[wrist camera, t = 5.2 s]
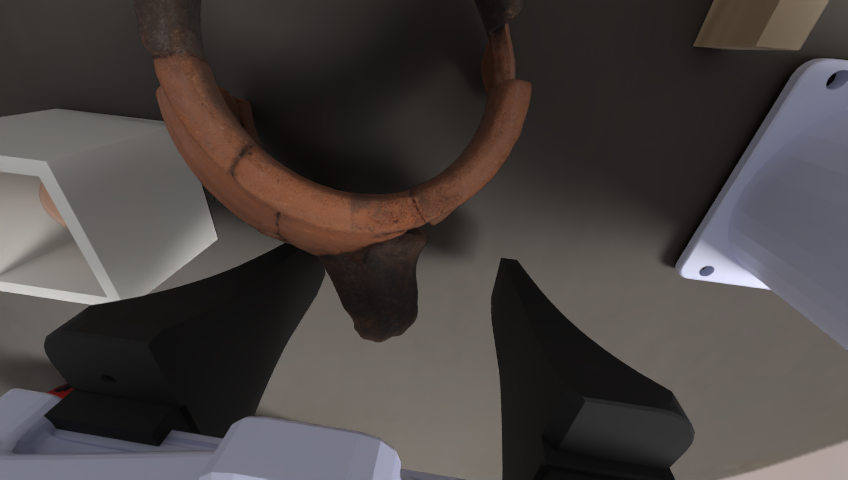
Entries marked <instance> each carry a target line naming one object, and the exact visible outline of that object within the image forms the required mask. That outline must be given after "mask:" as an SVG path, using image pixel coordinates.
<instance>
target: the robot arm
mask: <svg viewBox="0 0 848 480" xmlns="http://www.w3.org/2000/svg"><path fill="white" fill-rule="evenodd" d="M834 73H836V77H835V79H834V81H833V82H832V83H831V84H830V85H828V86H826V83H827V80H828V79H829V78H830V76H831V75H832V74H834ZM705 266H707V267H706V268H705V269H703V270H701V269H702V268H703V267H705ZM675 268H676V271H677V272H678V273H679V274H680V275H681V276H682V277H684V278H688V279H695V280H703V281H710V282H718V283H725V284H732V285H740V286H747V287H755V288H762V289H770V290H772V291H774V292H775V293H776V294H777V295H779V296H780V297H781V298H782V299H784V300H785V301H786V302H787V303H789V304H790V305H791V306H792V307H794V308H795V309H796V310H797V311H799V312H800V313H801V314H802V315H804V316H805V317H806V318H807V319H809V320H810V321H811V322H812V323H814V324H815V325H816V326H817V327H819V328H820V329H821V330H822V331H824V332H825V333H826V334H827V335H829V336H830V337H831V338H832V339H834V340H835V341H836V342H837V343H839V344H840V345H841V346H842V347H844V348H845V349H846V350H847V351H848V60H839V59H826V58H820V59H812V60H810V61H808V62H805V63H804V64H803V65H801V66H800V67H799V68H797V69H796V71H795V72H794V73H793V74H792V76H791V77H790V79H789V80H788V82H787V84H786V85H785V87H784V89H783V90H782V92H781V94H780V95H779V97H778V98H777V100H776V102H775V103H774V105H773V107H772V108H771V110H770V111H769V113H768V115H767V116H766V118H765V120H764V121H763V123H762V124H761V126H760V128H759V129H758V131H757V133H756V134H755V136H754V137H753V139H752V141H751V142H750V144H749V146H748V147H747V149H746V151H745V152H744V154H743V155H742V157H741V159H740V160H739V162H738V164H737V165H736V167H735V168H734V170H733V172H732V173H731V175H730V177H729V178H728V180H727V181H726V183H725V185H724V186H723V188H722V190H721V191H720V193H719V195H718V196H717V198H716V199H715V201H714V203H713V204H712V206H711V208H710V209H709V211H708V212H707V214H706V216H705V217H704V219H703V221H702V222H701V224H700V225H699V227H698V229H697V230H696V232H695V234H694V235H693V237H692V238H691V240H690V242H689V243H688V245H687V247H686V248H685V250H684V252H683V253H682V255H681V256H680V258H679V260H678V261H677V263H676V266H675ZM324 276H325V267H324V266H323V264H322V263H321V262H320V260H319V258H318V256H317V255H313V254H311V253H309V252H307V251H305V250H302V249H299V248H297V247H295V246H294V245H293V244H288V243H284V244H282V245H280V246H279V247H277V248H275V249H273V250H271V251H269V252H267V253H265V254H263V255H261V256H259V257H257V258H255V259H252V260H250V261H248V262H246V263H244V264H242V265H240V266H237V267H235V268H232V269H230V270H228V271H225V272H222V273H220V274H217V275H214V276H212V277H209V278H206V279H202V280H199V281H196V282H193V283H190V284H186V285H183V286H180V287H176V288H173V289H169V290H165V291H161V292H157V293H152V294H148V295H144V296H139V297H134V298H129V299H124V300H118V301H113V302H107V303H102V304H95V305H91V306H89V307H88V308H86V309H85V310H83V311H82V312H80V313H79V314H78V315H76V316H75V317H73V318H72V319H71V320H69V321H68V322H66V323H65V324H63V325H62V326H61V327H59V328H58V329H56V330H55V331H53V332H52V333H51V334H49V335H48V336H46V339H45V342H44V348H45V352H46V355H47V356H48V358H49V359H50V361H51V362H52V364H53V365H54V366H55V367H56V368H57V370H58V371H59V372H60V373H61V375H62V376H63V377H64V378H65V380H66V381H67V382H68V383H69V385H70V386H71V387H72V388H73V390H72V391H71V392H70V393H69V394H68V395H66V396H65V397H64V398H63V399H61V398H60V397H58V396H56V395H53V394H49V393H43V392H37V391H31V390H25V389H19V388H15V389H11V390H10V391H8V392H7V393H6V394H4V395H3V396H2V397H0V480H464V479H458V478H452V477H447V476H441V475H435V474H429V473H423V472H417V471H411V470H405V469H401V462H400V459H399V457H398V455H397V452H396V451H395V449H394V448H393V447H392V446H391V445H389V444H388V443H386V442H385V441H383V440H382V439H381V438H379V437H376V436H372V435H369V434H366V433H363V432H359V431H353V430H347V429H341V428H335V427H328V426H322V425H316V424H310V423H304V422H298V421H292V420H286V419H280V418H274V417H268V416H254V414H255V412H256V409H257V407H258V405H259V402H260V400H261V397H262V395H263V393H264V390H265V388H266V386H267V384H268V381H269V379H270V377H271V375H272V373H273V370H274V368H275V366H276V364H277V362H278V360H279V358H280V356H281V354H282V352H283V350H284V348H285V346H286V344H287V342H288V340H289V339H290V337H291V335H292V334H293V332H294V331H295V329H296V327H297V326H298V324H299V323H300V321H301V319H302V318H303V316H304V315H305V313H306V311H307V310H308V308H309V307H310V305H311V303H312V302H313V300H314V298H315V297H316V295H317V293H318V290H319V288H320V286H321V284H322V281H323V279H324ZM491 316H492V326H493V333H494V340H495V347H496V353H497V360H498V366H499V374H500V388H501V412H502V461H503V480H675V478H674V476H673V474H672V472H671V470H670V468H669V467H670V466H671V465H673V464H674V463H675V462H676V461H677V460H678V459H679V458H680V457H681V456H682V455H683V454H684V453H685V452H686V451H687V449H688V448H689V446H690V445H691V444H692V442H693V440H694V433H695V432H694V429H693V427H692V424H691V423H690V421H689V419H688V417H687V416H686V414H685V412H684V411H683V409H682V407H681V406H680V404H679V402H678V401H677V399H676V397H675V396H674V395H673V393H672V391H670V390H668V389H666V388H665V387H663V386H661V385H659V384H658V383H656V382H654V381H653V380H651V379H649V378H647V377H646V376H644V375H642V374H640V373H639V372H637V371H636V370H634V369H632V368H631V367H629V366H628V365H626V364H625V363H623V362H622V361H620V360H619V359H617V358H616V357H614V356H613V355H611V354H610V353H609V352H607V351H606V350H604V349H603V348H602V347H600V346H599V345H598V344H597V343H595V342H594V341H593V340H591V339H590V338H589V337H588V336H586V335H585V334H584V333H583V332H582V331H580V330H579V329H578V328H577V327H576V326H575V325H574V324H573V323H571V322H570V321H569V320H568V319H567V318H566V317H565V316H564V315H563V314H562V313H561V312H560V311H559V310H558V309H557V308H556V307H555V306H554V305H553V304H552V303H551V302H550V301H549V299H548V298H547V297H546V296H545V295H544V294H543V293H542V291H541V290H540V289H539V288H538V287H537V285H536V284H535V283H534V282H533V280H532V279H531V278H530V276H529V275H528V274H527V273H526V271H525V270H524V269H523V267H522V266H521V265H520V263H519V262H518V261H517V260H513V259H506V258H501V261H500V265H499V269H498V273H497V277H496V281H495V285H494V289H493V292H492V296H491Z"/></svg>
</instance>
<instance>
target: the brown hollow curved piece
mask: <svg viewBox="0 0 848 480" xmlns="http://www.w3.org/2000/svg"><path fill="white" fill-rule="evenodd" d="M474 1H475V3H476V6H477V8H478V11H479V13H480V16H481V19H482V21H483V25H484V28H485V30H486V33H487V36H488V44H487V46H486V50H485V53H484V56H483V59H482V63H481V75H482V79H483V83H484V88H485V91H486V94H487V103H486V107H485V111H484V114H483V117H482V120H481V123H480V125H479V127H478V129H477V131H476V133H475V135H474V137H473V139H472V140H471V142H470V144H469V145H468V146H467V148H466V149H465V150H464V152H463V153H462V154H461V155H460V156H459V157H458V158H457V159H456V160H455V161H454V162H453V163H452V164H451V165H450V166H449V167H448V168H446V169H445V170H444V171H443V172H441V173H440V174H439V175H437V176H436V177H434V178H432V179H430V180H429V181H426V182H424V183H421V184H419V185H416V186H414V187H412V188H410V189H408V190H406V191H401V192H396V193H388V194H361V193H350V192H344V191H339V190H336V189H333V188H330V187H327V186H323V185H320V184H318V183H315V182H313V181H311V180H309V179H307V178H305V177H303V176H301V175H299V174H297V173H295V172H293V171H292V170H290V169H289V168H287V167H285V166H284V165H282V164H281V163H279V162H278V161H276V160H275V159H274V158H273V157H271V156H270V155H269V154H267V153H266V152H265V151H264V150H263V148H262V146H261V143H260V141H259V138H258V135H257V132H256V129H255V126H254V121H253V116H252V108H251V104H250V103H249V102H248V101H247V100H244V99H240V98H238V97H234V96H231V95H230V93H229V92H228V91H227V90H225V89H224V88H222V87H218V86H217V83H216V81H215V78H214V75H213V72H212V69H211V66H210V65H209V63H208V62H207V60H206V58H205V55H204V50H203V45H202V37H201V29H200V7H201V0H134V7H135V11H136V16H137V21H138V27H139V32H140V36H141V39H142V42H143V45H144V47H145V48H146V50H147V51H148V52H149V53H150V54H151V55H152V57H153V59H154V68H155V72H156V76H157V78H158V80H159V82H160V86H159V87H158V89H157V90H156V97H157V100H158V104H159V107H160V111H161V114H162V117H163V120H164V123H165V125H166V128H167V130H168V132H169V134H170V136H171V138H172V140H173V142H174V144H175V146H176V148H177V149H178V151H179V153H180V154H181V156H182V157H183V159H184V161H185V162H186V164H187V165H188V166H189V168H190V169H191V171H192V172H193V173H194V174H195V176H196V177H197V178H198V179H199V181H200V182H201V183H202V184H203V185H204V186H205V187H206V189H207V190H208V191H209V192H210V193H211V194H212V195H213V196H215V197H216V198H217V199H218V200H219V201H220V202H221V203H222V204H223V205H224V206H225V207H226V208H227V209H229V210H230V211H231V212H232V213H234V214H235V215H236V216H237V217H239V218H240V219H241V220H243V221H244V222H246V223H247V224H249V225H251V226H253V227H255V228H256V229H257V230H258V231H259V232H261V233H263V234H265V235H267V236H269V237H272V238H275V239H278V240H280V241H282V242H284V243H288V244H293V245H294V246H295V247H297V248H299V249H302V250H305V251H307V252H309V253H311V254H313V255H317V256H318V258H319V260H320V262H321V263H322V264H323V266H324V267H325V269H326V271H327V273H328V274H329V276H330V278H331V280H332V282H333V284H334V287H335V289H336V291H337V293H338V295H339V298H340V300H341V303H342V305H343V307H344V309H345V310H346V311H347V313H348V314H349V315H350V316H351V318H352V319H353V322H354V328H355V330H356V331H357V332H358V333H359V335H360V337H362V338H363V339H366V340H371V341H374V342H382V341H385V340H387V339H389V338H391V337H393V336H399V335H401V334H403V333H404V332H405V331H406V330H407V329H408V328H409V327H410V326H411V325H412V324H413V323H414V321H415V320H416V318H417V313H418V305H417V299H418V290H417V281H416V264H417V260H418V257H419V254H420V253H421V251H422V249H423V248H424V247H425V245H426V243H427V241H428V239H429V234H428V233H427V232H426V231H424V230H419V229H416V227H420V226H422V225H424V224H426V223H427V222H428V223H429V224H430V225H432V226H435V225H436V224H438V223H439V222H441V221H442V220H444V219H445V218H446V217H447V216H448V215H449V214H450V213H451V212H452V211H454V210H455V209H456V208H457V206H459V205H461V204H462V203H464V202H465V201H467V200H468V199H470V198H471V197H472V196H473V195H475V194H476V193H477V192H478V191H480V190H481V189H482V188H483V187H484V186H485V185H486V184H487V183H488V182H489V181H490V180H491V179H492V178H493V177H494V176H495V175H496V173H497V171H498V170H499V169H500V167H501V166H502V164H503V163H504V161H505V160H506V159H507V157H508V156H509V154H510V152H511V150H512V148H513V146H514V144H515V143H516V141H517V140H518V138H519V136H520V134H521V131H522V127H523V124H524V120H525V117H526V114H527V111H528V107H529V102H530V97H531V90H532V86H531V83H530V82H529V81H525V80H520V79H515V69H516V64H515V57H514V51H513V46H512V42H511V38H510V30H509V25H508V23H509V22H511V21H512V20H514V19H515V18H516V17H517V16H518V15H519V14H520V12H521V10H522V8H523V7H524V5H525V2H526V0H474Z"/></svg>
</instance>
